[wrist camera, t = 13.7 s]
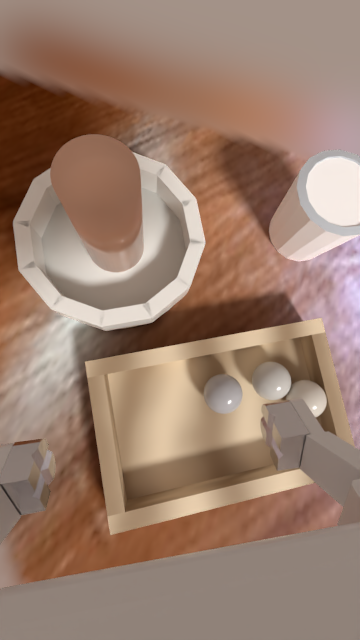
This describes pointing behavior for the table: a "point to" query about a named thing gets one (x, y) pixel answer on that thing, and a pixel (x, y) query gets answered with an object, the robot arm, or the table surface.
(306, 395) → the pebble
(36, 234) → the bowl
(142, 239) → the peach cylinder
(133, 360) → the parts tray
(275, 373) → the pebble
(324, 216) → the shot glass
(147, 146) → the table surface
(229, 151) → the table surface
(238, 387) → the pebble
